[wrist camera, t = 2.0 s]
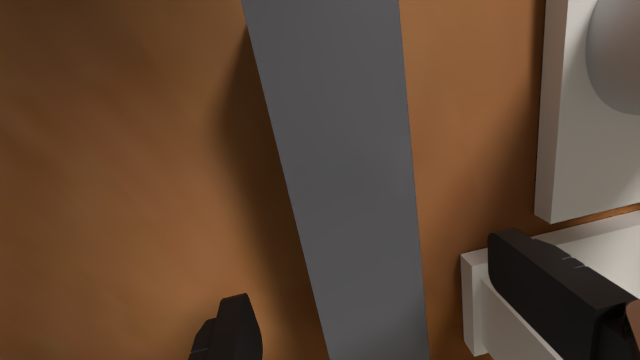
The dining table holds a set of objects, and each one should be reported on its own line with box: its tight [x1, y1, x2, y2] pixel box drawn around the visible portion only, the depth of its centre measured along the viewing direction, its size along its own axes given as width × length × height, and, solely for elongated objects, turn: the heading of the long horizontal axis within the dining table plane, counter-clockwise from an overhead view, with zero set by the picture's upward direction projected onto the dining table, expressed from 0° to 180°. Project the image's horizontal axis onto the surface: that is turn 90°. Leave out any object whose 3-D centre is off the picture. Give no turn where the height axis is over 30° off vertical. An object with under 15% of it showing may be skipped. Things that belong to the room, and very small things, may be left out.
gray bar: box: [241, 0, 430, 360], centre depth 14 cm, size 18×4×6 cm, turn 11°
